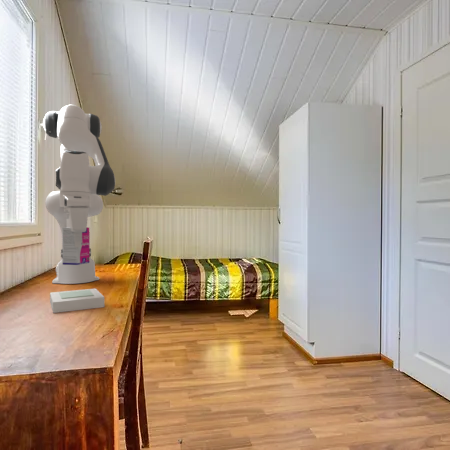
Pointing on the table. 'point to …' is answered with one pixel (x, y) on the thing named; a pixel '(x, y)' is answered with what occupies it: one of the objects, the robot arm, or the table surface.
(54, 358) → the table surface
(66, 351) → the table surface
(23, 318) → the table surface
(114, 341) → the table surface
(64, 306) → the dock
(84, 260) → the supplement box
